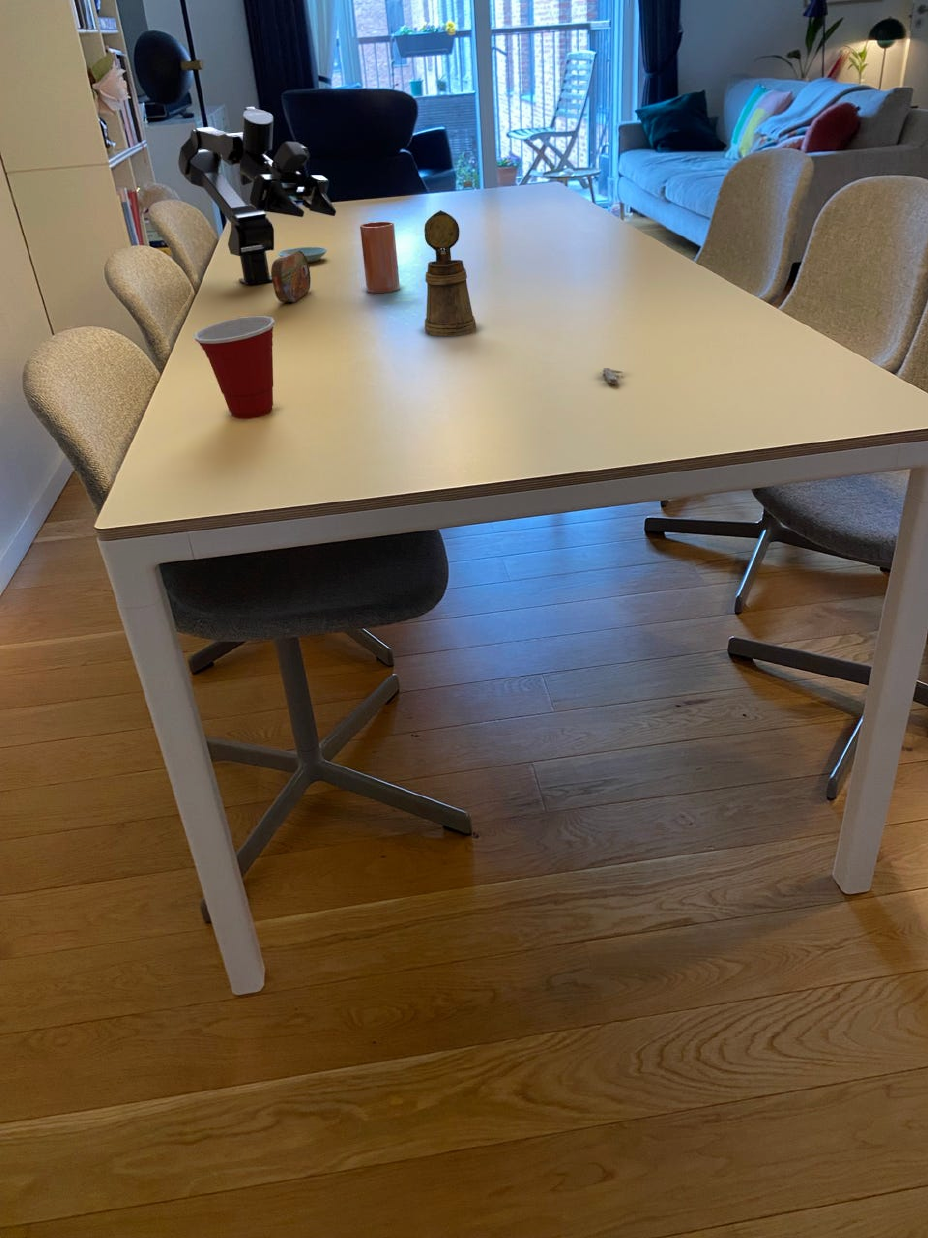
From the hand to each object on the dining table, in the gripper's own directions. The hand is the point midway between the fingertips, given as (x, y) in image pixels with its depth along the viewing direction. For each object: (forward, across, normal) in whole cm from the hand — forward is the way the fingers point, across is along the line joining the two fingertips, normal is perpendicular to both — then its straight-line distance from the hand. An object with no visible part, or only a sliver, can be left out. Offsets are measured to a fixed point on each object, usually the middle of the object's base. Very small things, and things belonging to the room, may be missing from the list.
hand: (319, 213), depth 179 cm
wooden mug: (+42, -10, -2) cm, 43 cm away
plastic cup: (+45, -58, +4) cm, 73 cm away
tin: (+2, -3, +17) cm, 17 cm away
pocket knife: (+78, -25, -19) cm, 84 cm away
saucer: (-22, +27, +25) cm, 43 cm away
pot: (+14, +10, +9) cm, 19 cm away
